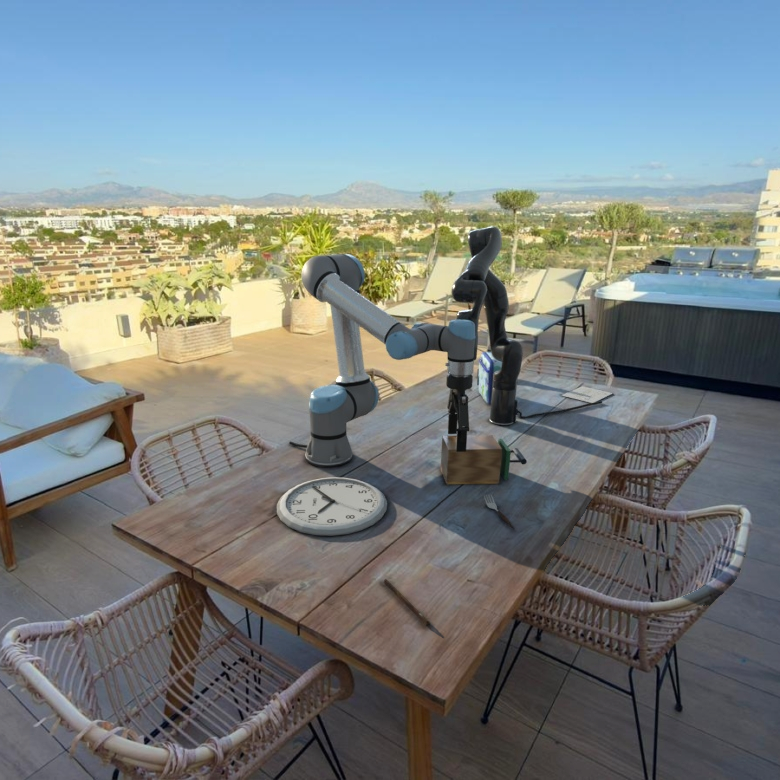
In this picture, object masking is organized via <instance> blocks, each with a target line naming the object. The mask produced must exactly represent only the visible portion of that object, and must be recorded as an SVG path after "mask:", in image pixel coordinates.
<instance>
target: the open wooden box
mask: <svg viewBox="0 0 780 780" xmlns="http://www.w3.org/2000/svg"><path fill="white" fill-rule="evenodd" d="M456 447H457V435H442V436H441V454H440V455H441V456H440V472H441V474H442V476H443V479H444V481H445V484H446V485H488V484H489V485H491V484H493V485H494V484H496V485H497V484H500V476H501V473H500V466H501V455H502V448H501V447H500V445H499V444H498V440H497V439H496V438H495V436H494V435H492V434H489V435H488V434H485V435H483V434H482V435H481V434H479V435H473V434H472V435H467V444H466V452H457V451H456Z"/></svg>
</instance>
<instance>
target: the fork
mask: <svg viewBox="0 0 780 780" xmlns="http://www.w3.org/2000/svg"><path fill="white" fill-rule="evenodd" d="M483 497H484V501H485V504H486V506H487V508H489V509H491V510H495V511H496V512H497V514H498V515H499V517H500V518H501V519H502V520H503V522H505V523H506V525H508V526H509V527H510V528H511V529H513V530H516V528H515V527H514V525H513V524H512V523H511V521H510V520H509V519H508V517H507V516H506V515H505V514H503V513H502V512H501V511H500V510H498V506H497V504H496V502H495V499H494V497H493V496H492V494H490V493H489V494H485V495H483Z"/></svg>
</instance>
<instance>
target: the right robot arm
mask: <svg viewBox="0 0 780 780" xmlns="http://www.w3.org/2000/svg"><path fill="white" fill-rule="evenodd" d="M467 245H468V249H469V254H470V257H471V259H470V260H469V261H468V262H467V264H466V267H465V269H464V271H463V272H462V273H461V274H460V276H458V277H457V278H456V280H455V281H454V282H453V284H452V287H451V291H450V293H451V298H452V299H453V300H454V301H455V303H460V304H472V307H471V308H470V309H464V310H459V311H458V312H457V313H456V314H455V320H470V321H472V322H473V323H474V324H475V337H476V338H475V345H474V361H476V360H477V358H478V357H477V356H478V343H479V322H480V314H481V310H482V308H483V311H484V315H485V321H486V324H487V328H488V329H487V330H488V337H489V339H488V340H489V344H490V349H491V353H492V356H493V357H494V358H495V359H496V360H498V361H501V362H502V367H501V370H497V371H495V372H494V374H493V385H492V398H491V404H490V410H489V411H490V413H489V414H490V415H489V422H490V423H491V424H494V425H497V426H511V425H513V424H516V423H517V416H519V418H520V419H529V418H533V417H539V416H546V415H553V414H560V413H564V412H569V411H574V410H578V409H581V408H586V407H590V406H594V405H600V404H603V401H602V400H599V401H597V402H594V403H589V402H588V403H585V404H581V405H576V406H572V407H569V408H564V409H558V410H552V411H547V412H539V413H538V412H537V413H532V414H529V415H527V416H526V415H525V416H523V413H522V411H520V410H519V409H518V399H517V388H518V378H519V376H520V374H521V369H522V362H523V357H524V356H523V355H524V349H523V345H522V343H521V342H520V341H518V340H514V339H513V338H512V339H511V338H509V337H508V335H507V330H506V319H507V315H508V312H509V308H510V303H509V302H510V301H509V295H508V292H507V291H508V290H507V288H506V286H505V284H504V283H503V282H502V280H500V278H498V276H497V275H495V273H493V271H492V270H491V269H490V268H491V265H492V264H493V263H494V261H495V260H496V259H497V257H498V255H499V254H500V252H501V250H502V247H503V237H502V233H501V231H500V229H499V228H498V227H497V226H489V227H483V228H479V229H474V230H471V231H469V233H468V235H467Z"/></svg>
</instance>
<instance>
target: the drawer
mask: <svg viewBox="0 0 780 780" xmlns="http://www.w3.org/2000/svg"><path fill="white" fill-rule="evenodd" d="M497 442H498V444H499V445H500V447H501V448H502V455H501V466H500V476H501V477H502V479H503V480H509V477H510V476H509V473H510V463H520V464H522V465H526V464H527V462H528V461H527V458H526V457H525V456H524V455H523V453H521V451H520V450H519V448H518V447H515V448H513V449H510V448H509V446H508V445H507V443H506V442H505V441H504V440H503V438H498V439H497ZM511 453H512V454H514V455H515V457H516V459H511Z"/></svg>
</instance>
